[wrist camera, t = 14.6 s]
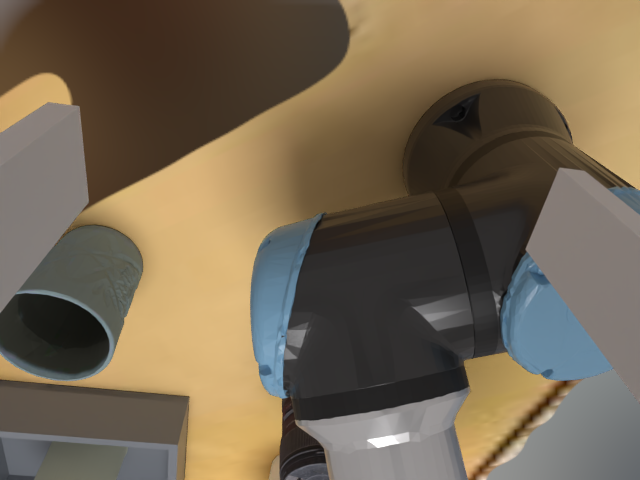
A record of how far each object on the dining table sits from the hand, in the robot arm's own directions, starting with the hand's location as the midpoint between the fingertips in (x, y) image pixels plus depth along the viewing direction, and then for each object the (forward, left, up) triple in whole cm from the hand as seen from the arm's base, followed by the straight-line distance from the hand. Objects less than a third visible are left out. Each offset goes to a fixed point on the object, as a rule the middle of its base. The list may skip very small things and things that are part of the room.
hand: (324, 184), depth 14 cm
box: (+20, +54, -32) cm, 66 cm away
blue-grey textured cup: (+18, +26, -32) cm, 45 cm away
